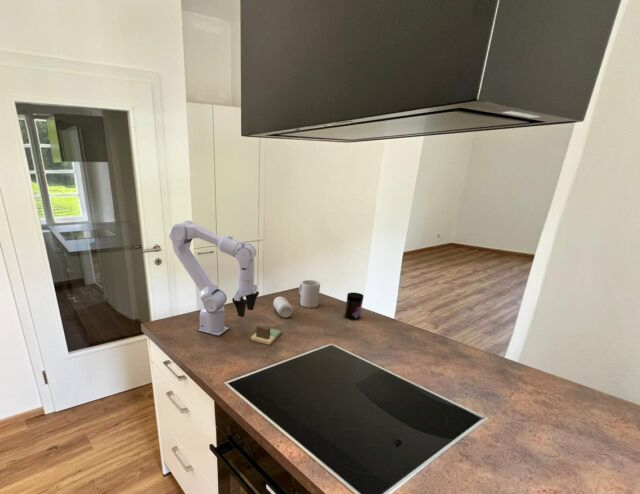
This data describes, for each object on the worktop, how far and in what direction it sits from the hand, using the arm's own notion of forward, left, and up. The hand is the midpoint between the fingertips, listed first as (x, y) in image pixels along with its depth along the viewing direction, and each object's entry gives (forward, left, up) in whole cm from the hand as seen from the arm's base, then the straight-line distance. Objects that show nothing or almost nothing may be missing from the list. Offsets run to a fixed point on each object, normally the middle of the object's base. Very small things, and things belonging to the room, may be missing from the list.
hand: (245, 312), depth 136 cm
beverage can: (+8, +23, -6) cm, 25 cm away
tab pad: (+8, +1, -9) cm, 12 cm away
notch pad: (+8, +5, -9) cm, 13 cm away
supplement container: (+33, +40, -10) cm, 52 cm away
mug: (+10, +46, -10) cm, 48 cm away
